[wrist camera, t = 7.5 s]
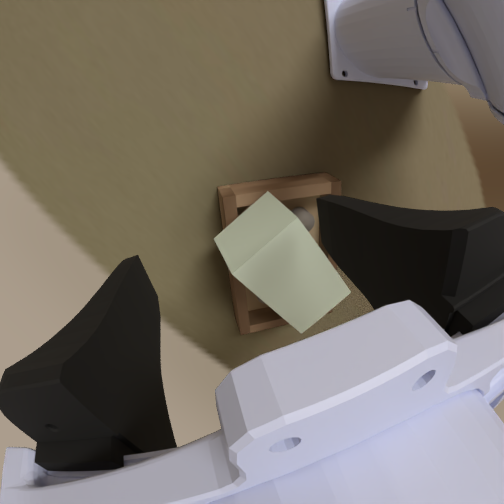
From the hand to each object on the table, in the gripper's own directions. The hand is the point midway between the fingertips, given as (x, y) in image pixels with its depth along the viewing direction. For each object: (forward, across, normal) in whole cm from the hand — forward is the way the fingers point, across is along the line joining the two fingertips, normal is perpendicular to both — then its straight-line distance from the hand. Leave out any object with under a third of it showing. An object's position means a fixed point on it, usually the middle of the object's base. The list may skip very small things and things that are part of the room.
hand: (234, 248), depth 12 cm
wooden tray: (+10, -4, +7) cm, 13 cm away
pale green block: (+8, -3, +6) cm, 10 cm away
